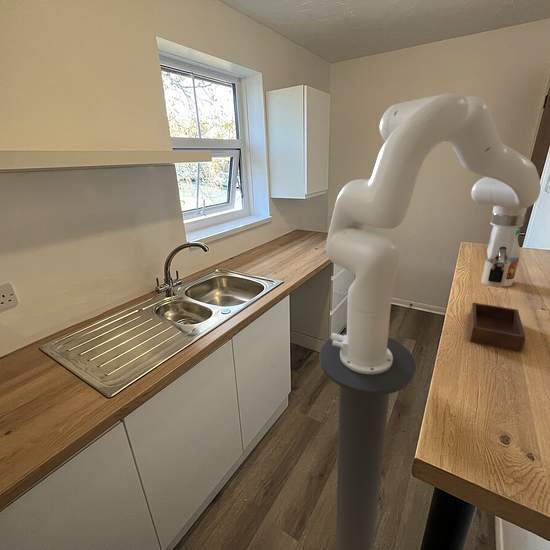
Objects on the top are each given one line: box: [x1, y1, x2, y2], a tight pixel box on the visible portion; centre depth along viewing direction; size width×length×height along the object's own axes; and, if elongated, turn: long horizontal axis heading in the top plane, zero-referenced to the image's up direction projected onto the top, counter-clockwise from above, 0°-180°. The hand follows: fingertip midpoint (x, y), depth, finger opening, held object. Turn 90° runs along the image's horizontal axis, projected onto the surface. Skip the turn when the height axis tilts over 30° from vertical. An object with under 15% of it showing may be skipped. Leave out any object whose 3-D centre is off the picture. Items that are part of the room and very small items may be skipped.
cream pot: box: [480, 258, 510, 288], centre depth 92 cm, size 6×6×7 cm
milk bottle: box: [503, 227, 521, 287], centre depth 104 cm, size 8×8×20 cm
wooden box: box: [469, 302, 526, 353], centre depth 81 cm, size 11×15×4 cm
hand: (493, 276), depth 92 cm, fingers closed on cream pot, 6 cm apart
